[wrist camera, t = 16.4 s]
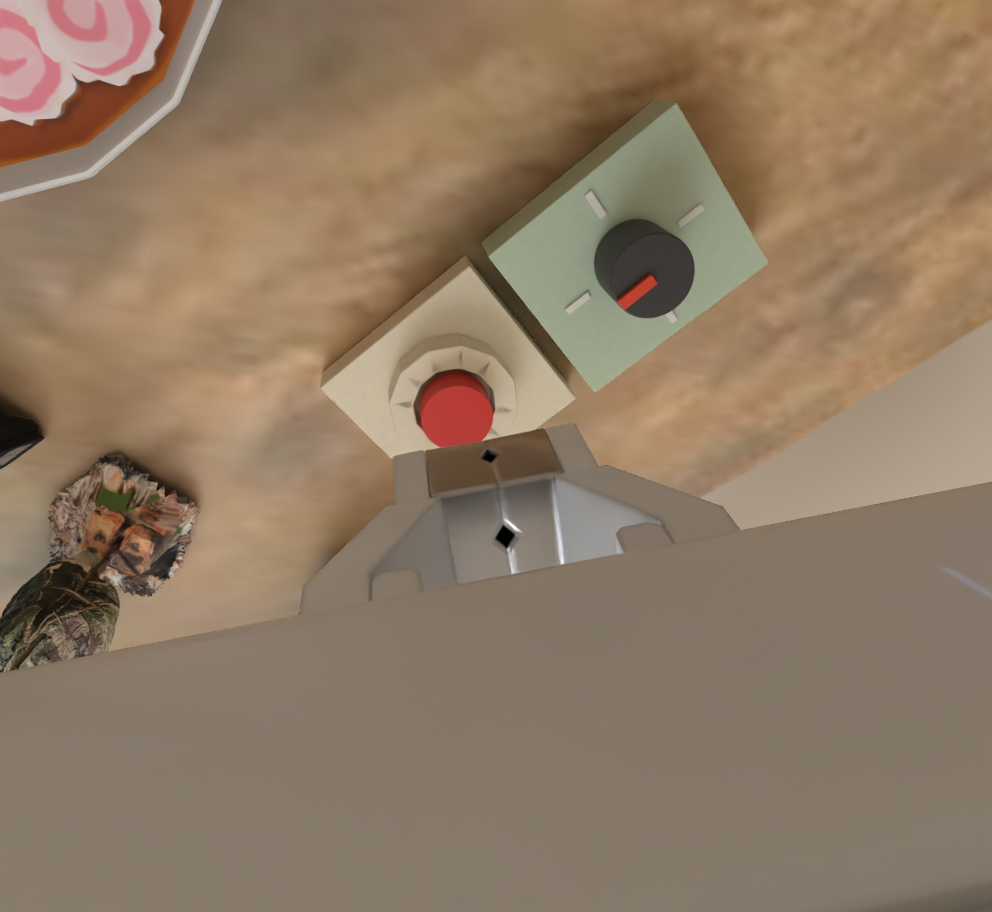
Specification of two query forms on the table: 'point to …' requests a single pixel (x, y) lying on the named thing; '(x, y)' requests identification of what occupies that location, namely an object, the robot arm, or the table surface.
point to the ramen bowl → (88, 81)
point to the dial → (644, 268)
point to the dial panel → (601, 206)
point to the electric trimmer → (16, 437)
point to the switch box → (445, 364)
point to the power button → (455, 410)
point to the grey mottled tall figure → (95, 564)
